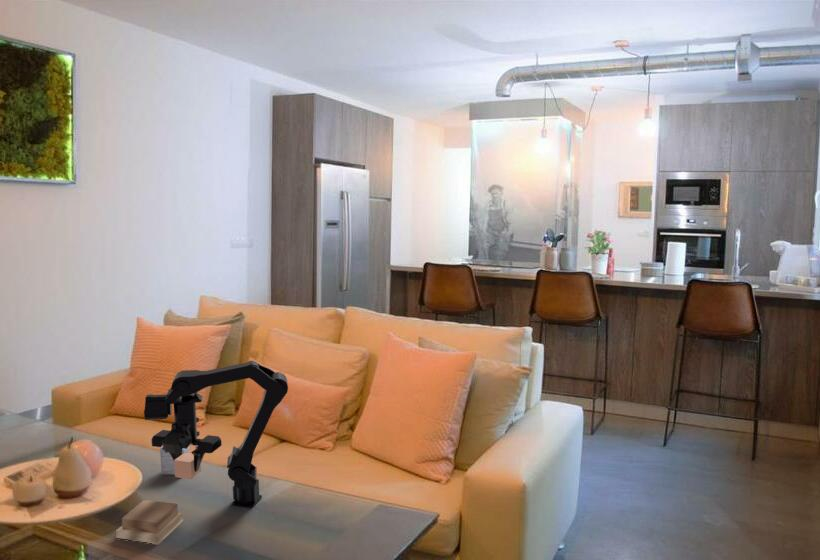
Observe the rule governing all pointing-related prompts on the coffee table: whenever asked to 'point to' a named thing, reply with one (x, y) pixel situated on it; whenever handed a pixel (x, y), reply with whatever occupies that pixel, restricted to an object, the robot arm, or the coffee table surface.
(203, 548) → the coffee table surface
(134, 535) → the birch slab
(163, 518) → the walnut slab
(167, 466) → the medicine box
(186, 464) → the terracotta block
